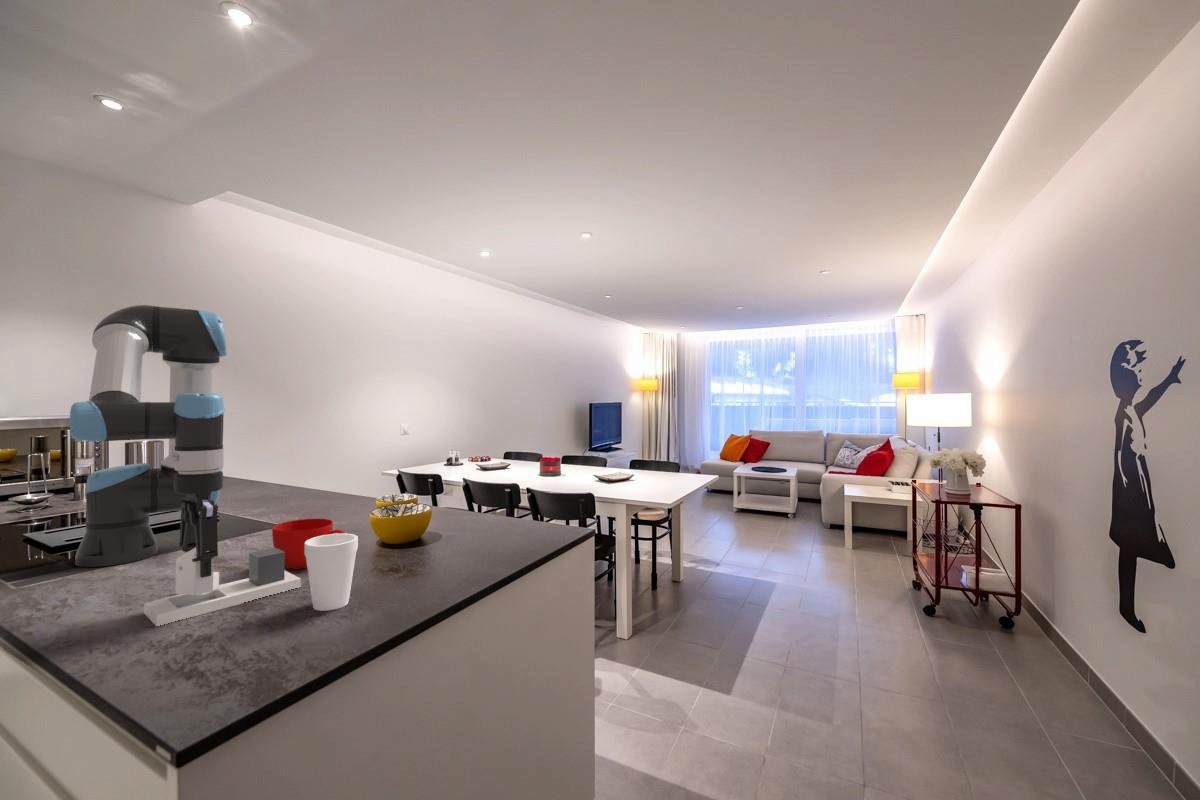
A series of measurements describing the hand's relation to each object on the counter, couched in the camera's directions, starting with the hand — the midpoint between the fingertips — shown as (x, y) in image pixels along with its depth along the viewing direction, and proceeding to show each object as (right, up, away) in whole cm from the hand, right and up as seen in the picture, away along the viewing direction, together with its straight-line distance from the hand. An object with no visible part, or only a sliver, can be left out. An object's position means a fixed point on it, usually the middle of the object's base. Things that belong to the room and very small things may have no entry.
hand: (197, 588), depth 98 cm
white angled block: (0, -1, 0) cm, 1 cm away
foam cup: (+25, -4, +3) cm, 25 cm away
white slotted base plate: (+3, -4, +4) cm, 6 cm away
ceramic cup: (+7, -4, +26) cm, 27 cm away
